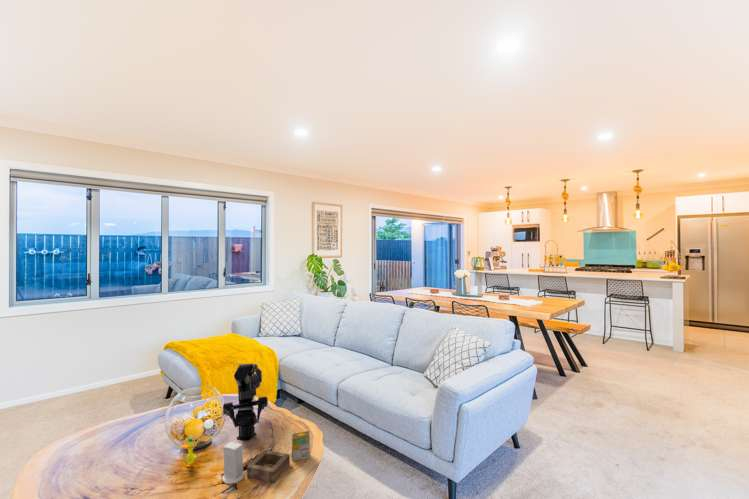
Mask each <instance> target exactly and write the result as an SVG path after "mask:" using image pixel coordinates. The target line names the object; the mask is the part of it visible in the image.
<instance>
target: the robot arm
mask: <svg viewBox="0 0 749 499" xmlns="http://www.w3.org/2000/svg"><path fill="white" fill-rule="evenodd" d="M262 373H263V372H262V370H261V369H260V368H259V367H258V364H257V363H242V364H241V363H240V364H238V366H237V367H236V370H235V372H234V374H233V378H234V380H235V382H236V385H237V395H238V396H237V397H238V398H237V399H238V403H235V404H234V403H233V402H226V403H223V405H222V414H223V415H226V416H227V417H229V418H230V420H231V422H232V424H233V426H234V428H238V436H236V439H237V440H240V441H246V442H247V441H250V440H251V439H252V438H253V437H254V436H256V435H257V432H256V431H255V430H256V429H255V428H256V427H255V425H256V424H258V423H259V421H260V417H261V414H262V410H265V408H266V407H267V406H268V403H269V400H268V396H261V397H258V398H257V400H255V396H257V389H258V388H259V387H260V388H261V383H262V382H263V374H262ZM255 406H257V413H256V412H255V409H254V407H255ZM235 410H237V412H236V413H235ZM256 414H257V415H256Z"/></svg>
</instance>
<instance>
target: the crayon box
mask: <svg viewBox="0 0 749 499" xmlns="http://www.w3.org/2000/svg"><path fill="white" fill-rule="evenodd" d="M310 442H311V441H310V430H307V431H301V432H296V433H292V435H291V460H292V462H295V461H299V460H304V459H309V458H310V457H311V447H310V446H311V443H310Z"/></svg>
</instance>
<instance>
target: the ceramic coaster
mask: <svg viewBox="0 0 749 499" xmlns="http://www.w3.org/2000/svg"><path fill="white" fill-rule="evenodd" d="M244 477H245V472H244V470H243V474H242V475H241V476H240V477H239V478H238V479H236V480H235V479H231V478H227V477H224V475H222V482H223V483H224V484H226V485H233V483H234V484H236V483H239V482H240V481H241V480H243V479H244Z"/></svg>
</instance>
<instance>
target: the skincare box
mask: <svg viewBox="0 0 749 499" xmlns="http://www.w3.org/2000/svg"><path fill="white" fill-rule="evenodd" d="M243 457H244V456H243V443H237V442H233V441H230V442H228V443H227V444H226V445H224V446H223V476H224V477H227V478H231V479H235V480H236V479H238V478H239V477H240V476H241V475H242V474H243V471H244V463H243V462H244V458H243Z"/></svg>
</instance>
